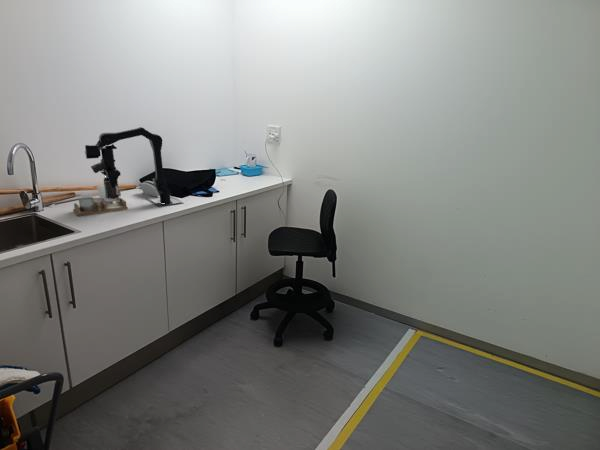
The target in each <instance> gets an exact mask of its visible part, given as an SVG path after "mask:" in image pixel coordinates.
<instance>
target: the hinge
mask: <svg viewBox="0 0 600 450" xmlns="http://www.w3.org/2000/svg"><path fill="white" fill-rule="evenodd" d="M140 187H141V191H142V193H143V194H145V195H148V194H149V195H148V196H151V195H153V196H152V197H155V196H160V192H159V190H157V189H156V188H155V186H154V185H153V181H151V180H145V181H143V182H141V183H140Z"/></svg>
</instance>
